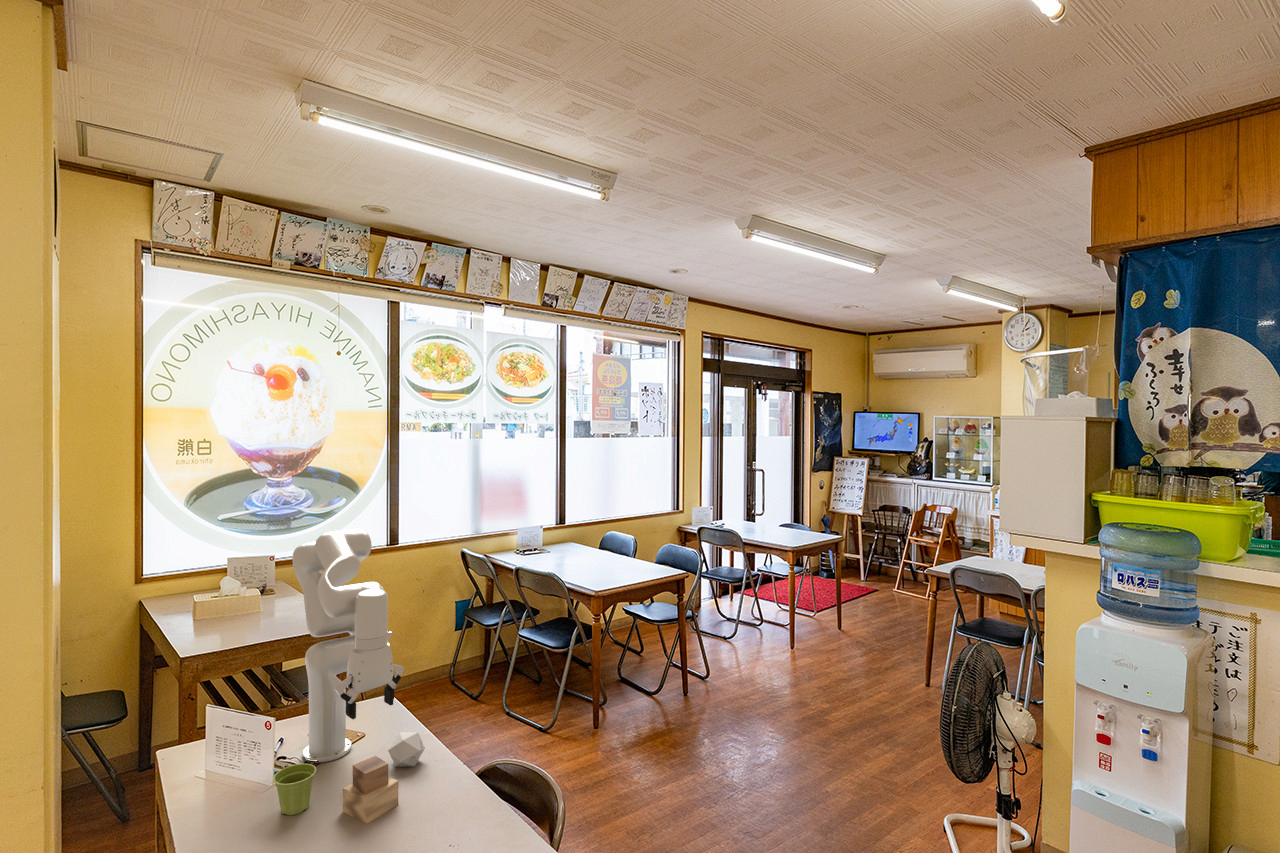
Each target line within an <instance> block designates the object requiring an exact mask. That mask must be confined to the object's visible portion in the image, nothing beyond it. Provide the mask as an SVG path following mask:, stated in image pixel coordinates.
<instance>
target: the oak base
mask: <svg viewBox="0 0 1280 853" xmlns="http://www.w3.org/2000/svg"><path fill="white" fill-rule="evenodd" d="M398 805H399V780H397V779H395V778H392V777H389V776H388V784H387V785H385V786H383V787H381V788H378V789H376V790H374V791H372V792H370V793H368V794H364V793H362V792H361V791H359V790H358V789H357V788H355V787H354V786H353V782H351V783H350V784H348V785H346V786H344V787H342V812H343V813H344V814H346V815H349V816H351V817H353V818H355V819H357V820H358V821H361V822H363V823H364V824H369V823H370V822H372V821H373V820H375V819H377V818H379V817H380V816H382V815H383V814H386V813H387V812H388V811H390V810H392V809H393V808H395V807H397V806H398Z"/></svg>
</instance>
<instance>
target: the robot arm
mask: <svg viewBox="0 0 1280 853" xmlns="http://www.w3.org/2000/svg"><path fill="white" fill-rule="evenodd" d="M371 551H372V540H371V537H370V535H369V534H368V532H367V531H366V530H365V529H361V528H354V529H353V528H352V529H344V530H333V531H328V532H325V533H323V534H321V535H320V536H318V537H317V539H316V540H315V541H311V542H306V543H304V544H301V545H298V546H297V547H296V548H295V549H294V551H293V553H292V567H293V568H292V569H293V571H294V575H295V577H296V579H297V581H298V583H299V585H300V587H301V590H302V595H303V601H304V602H303V603H304V612H305V619H306V620H305V621H306V628H307V631H308V633H309V635H311V637H313V638H321V637H322V638H323V637H328V636H333V635H340V634H345V633H348V634H349V636H345V637H340V638H334V639H329V640H324V641H323V640H322V641H320V642H317V643H315V644H313V645H311V646H310V647H309V648H308V649H307V650H306V652H305V654H304V655H305V656H304V662H305V668H306V674H307V681H308V734H307V738H308V745H307V746H305V747H304V748H303V750H302V758H303V757H305V758H306V759H310V760H317V761H319V762H318V763H326V762H330V761H335V760H338V759H340V758H342V757H343V756H345V755H347V754H348V753H349V752H350V751H351V749H352V741H351V740H350V739H349V738H346V737H347V736H346V733H347V732H346V730H347V729H346V728H347V727H346V724H347V723H346V716H347V717H348V718H350V719H351V720H355V719H356V718H357V702H356V701H355V700H356V699H357V697H358V696H359V694H360V693H364V692H367V691H372V690H373V689H376V688H379V687H383V686H384V688H383V691H384V693H383V694H384V696H383V702H384V703H385V704H387V705H389V706H393V705H394V699H395V689H396V688H397V686H398V685H397V684H398V683H399V682H400V680H401V679H402V675H403V673H404V671H405V667H404V666H403V665H398V664H395V663H393V662H394V660H393V654H392V648H391V645H390V642H389V639H390V638H391V637H393V632H392V631H390V630H389V631H388V627H389V623H388V622H389V594H388V593H387V591H385V589H384V587H383V586H382V585H381V583H379V582H378V581H366V582H362V583H354V584H347V585H344V584H346V583H349V582H350V581H352V580H353V579H354V578H355V577H356V576H357V575H358V573H359V571H360V570H361V562H363V561H364V560H365V559H367V558H368V557H369V555H370V554H371ZM394 671H395V673H394ZM345 672H346V678H344V679H343V680H341V679H340V678H339V677H338V676H337V675H339V674H342V673H345ZM346 688H347V689H348V690H347V692H346Z"/></svg>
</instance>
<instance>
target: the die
mask: <svg viewBox="0 0 1280 853" xmlns="http://www.w3.org/2000/svg"><path fill="white" fill-rule="evenodd" d="M425 749H426V747H425V745H424V743H423V740H422V738H421V736H420V734H419V732H417V731H416V732H415V731H414V732H412V731H411V732H408V731H407V732H406V731H405V732H403V731H402V732H401V731H400V732H398V734H397V735H396V737H395V738H394V740H393V741H392V743H391V745H390V746H389V748H388V751H387V752H388V753H389V755H390V759H391V761H392V762H393V764H394V766H395V767H416V765H417V763H418V761H419V759H420V758H421V756H422V754H423V753H424V751H425Z"/></svg>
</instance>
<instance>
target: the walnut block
mask: <svg viewBox="0 0 1280 853" xmlns="http://www.w3.org/2000/svg"><path fill="white" fill-rule="evenodd" d="M388 777H389V763H388V762H387V761H386V760H383V759H382V758H380V757H378V756H377V755H373V756H371V757H370V758H366V759H365V760H362V761H359V762H357V763H355V764H352V783H353V786H354V787H355V788H357V789H358V790H359V791H361V792H362V793H364V794H368V793H370V792H372V791H374V790H376V789H378V788H381V787H383V786H385V785H387V784H388Z"/></svg>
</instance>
